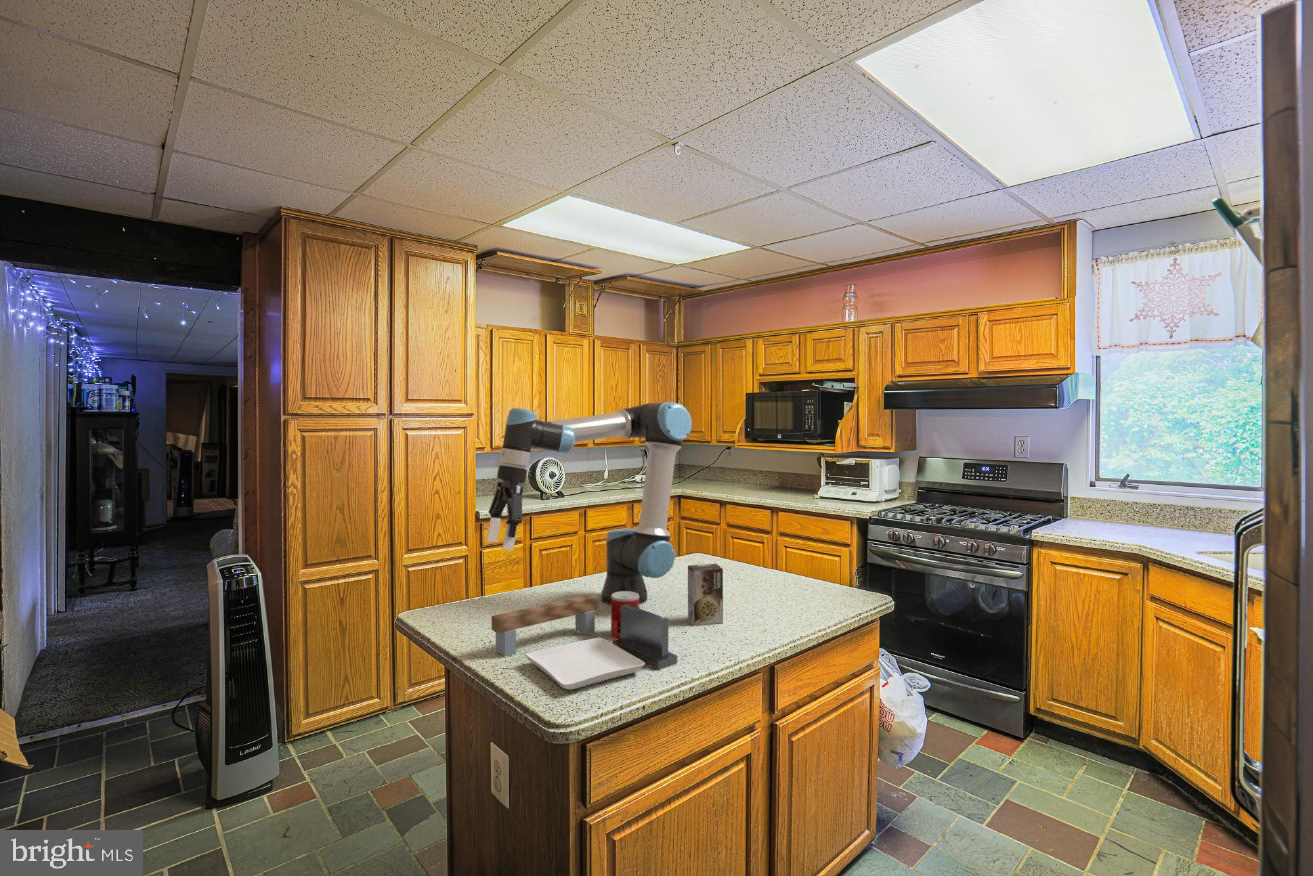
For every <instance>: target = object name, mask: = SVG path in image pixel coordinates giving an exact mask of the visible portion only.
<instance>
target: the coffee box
mask: <svg viewBox="0 0 1313 876" xmlns="http://www.w3.org/2000/svg"><path fill="white" fill-rule="evenodd" d="M723 572H724V569H723V568H722V567H721V566H720V565H719V564H717V563H705V564H693V565H692V564H690V565H687V619H688V621H689V622H690V623H691V624H692V625H693V626H704V625H714V624H724V577H723V576H724V573H723Z"/></svg>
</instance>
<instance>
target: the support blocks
mask: <svg viewBox="0 0 1313 876" xmlns="http://www.w3.org/2000/svg"><path fill="white" fill-rule="evenodd" d="M595 611H596V610H594V611H590V612H586V613H582V614H578V615H574V617H575V621H574V623H575V629H574V630H576V631H575V632H577V631H579V632H580V633H579V632H578V633H579V634H581V633H582V634H581V635H584V636H589V635H592V634H591V633H593V634H596V633H595V632H596V629H595V628H596V625H595V624H596V622H595V621H596V612H595ZM588 634H589V635H588ZM496 651H497V652H496ZM495 652H496V653H498V652H499V653H500V654H499V653H498V654H499V655H501V654H502V655H503V656H502V655H501V656H502V657H504V656H507V657H511V656H513V655H512V654H515V655H517V629H515V630H511V631H507V632H502V633H496V632H495ZM510 655H511V656H510Z"/></svg>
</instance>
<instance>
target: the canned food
mask: <svg viewBox="0 0 1313 876" xmlns="http://www.w3.org/2000/svg"><path fill="white" fill-rule="evenodd" d="M625 604H628V605H631V606H634V607H637V608H639V609H640V604H639V594H638V593H635V592H631V591H620V592H616V593H613V594H612V595H611V604H610V632H611V636H612V637H613V638H614V637H615V639H616V640H617V639H621V605H625Z"/></svg>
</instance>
